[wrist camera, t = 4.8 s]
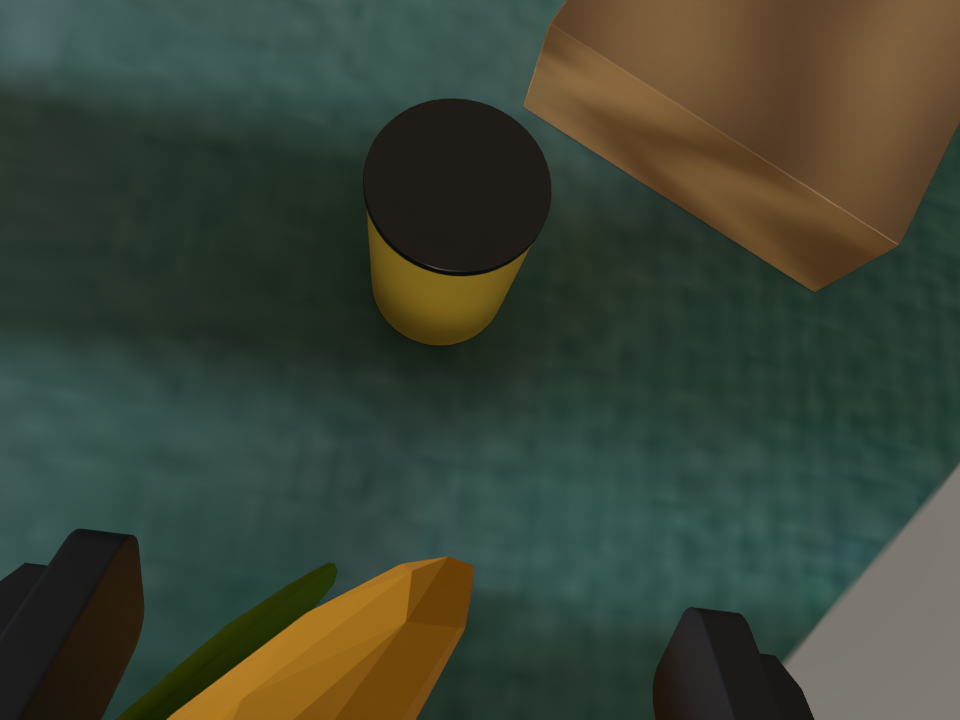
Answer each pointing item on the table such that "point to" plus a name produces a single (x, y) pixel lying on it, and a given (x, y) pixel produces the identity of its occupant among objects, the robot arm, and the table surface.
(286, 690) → the corn
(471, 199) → the tin
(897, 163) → the wood block
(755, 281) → the table surface
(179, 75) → the table surface
